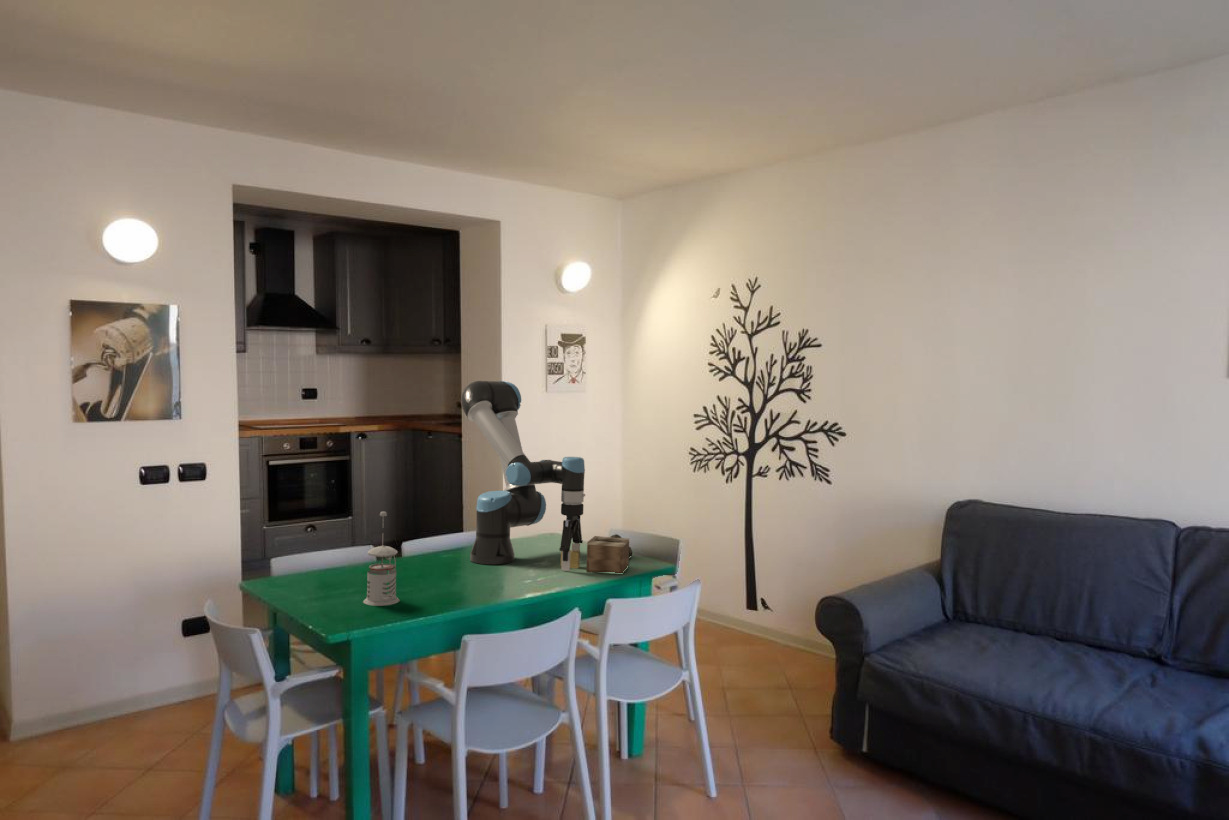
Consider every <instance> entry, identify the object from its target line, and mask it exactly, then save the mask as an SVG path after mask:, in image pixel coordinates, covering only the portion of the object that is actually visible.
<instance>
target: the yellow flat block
mask: <svg viewBox="0 0 1229 820" xmlns="http://www.w3.org/2000/svg"><path fill="white" fill-rule="evenodd" d="M580 562H581V550H580V551H574V550H572V549H570V569H577V568H578V567H579V568H580V564H581V563H580ZM560 568H562V551H560ZM579 568H578V569H579Z"/></svg>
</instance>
